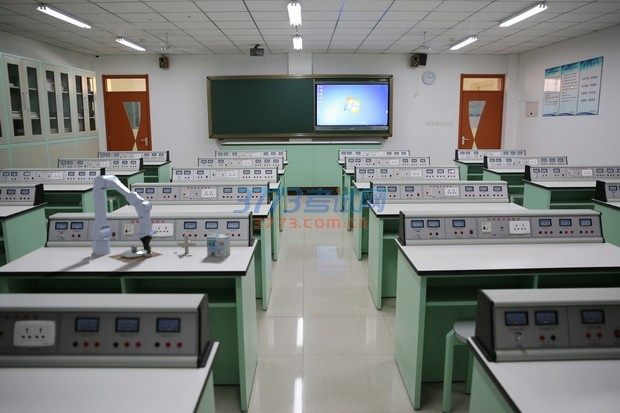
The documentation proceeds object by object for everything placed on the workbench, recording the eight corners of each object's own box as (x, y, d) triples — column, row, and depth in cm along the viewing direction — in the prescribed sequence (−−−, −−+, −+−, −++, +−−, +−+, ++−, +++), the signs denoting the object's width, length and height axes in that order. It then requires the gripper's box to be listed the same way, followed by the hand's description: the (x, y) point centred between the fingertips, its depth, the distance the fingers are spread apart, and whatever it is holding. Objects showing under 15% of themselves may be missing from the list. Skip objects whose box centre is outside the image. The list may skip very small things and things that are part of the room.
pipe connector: (198, 250, 247) (198, 233, 245) (192, 255, 237) (191, 237, 236) (181, 250, 248) (180, 232, 246) (174, 255, 238) (173, 237, 237)
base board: (107, 258, 232) (107, 256, 232) (142, 250, 248) (141, 248, 247) (128, 265, 220) (128, 263, 220) (163, 256, 236) (163, 254, 235)
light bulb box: (207, 256, 237) (206, 236, 235) (212, 252, 243) (211, 233, 242) (225, 257, 234) (224, 237, 233) (230, 253, 241) (230, 234, 239)
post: (130, 251, 234) (130, 246, 233) (135, 250, 236) (134, 245, 235) (133, 252, 232) (133, 246, 231) (138, 251, 234) (137, 245, 233)
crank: (117, 257, 230) (116, 247, 229) (131, 251, 241) (130, 241, 240) (145, 259, 226) (144, 248, 225) (157, 252, 238) (157, 243, 237)
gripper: (141, 227, 220) (142, 254, 222) (160, 222, 233) (162, 247, 235) (129, 226, 222) (131, 253, 225) (149, 221, 236) (151, 246, 238)
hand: (146, 250), depth 230 cm, fingers closed, pressing on crank
